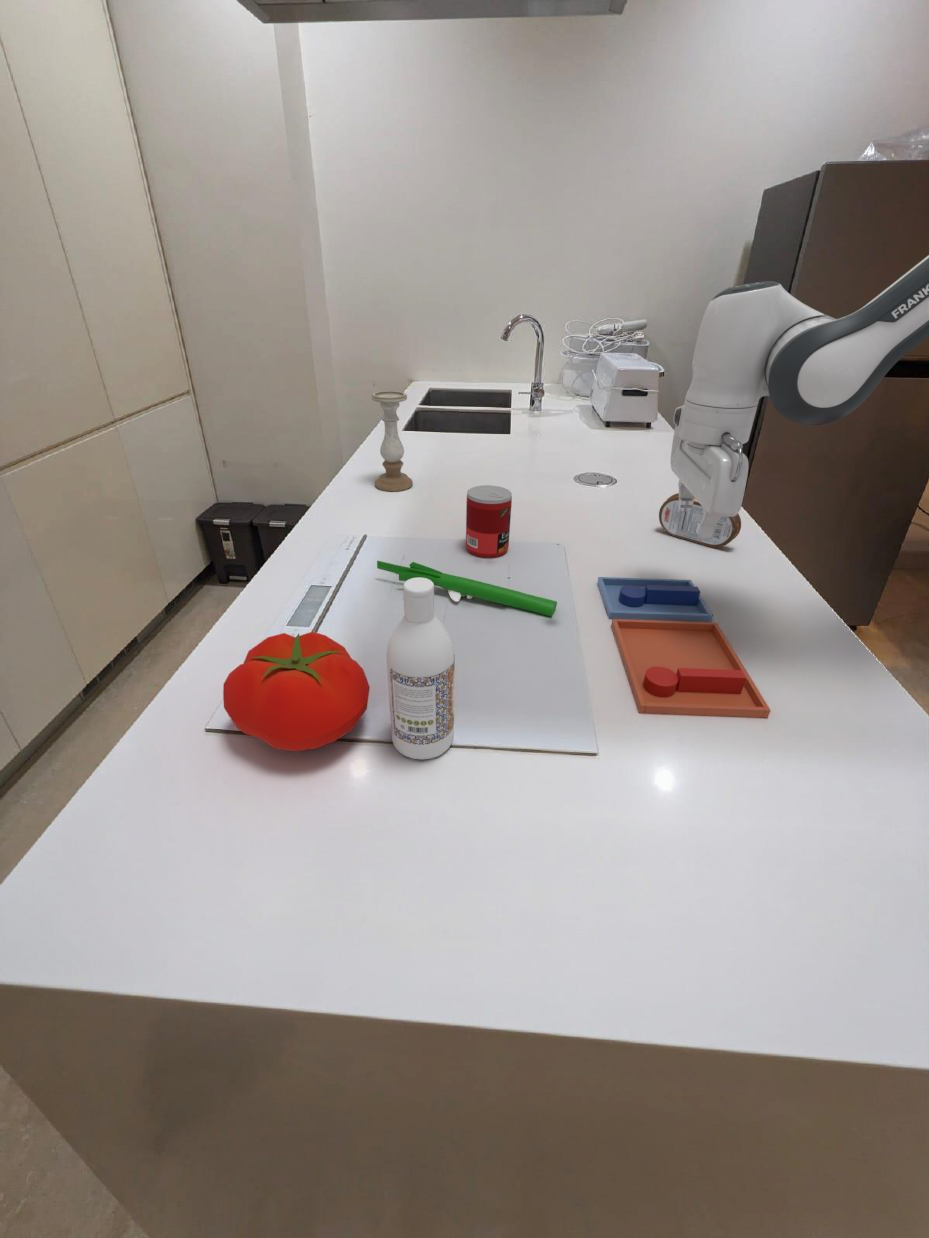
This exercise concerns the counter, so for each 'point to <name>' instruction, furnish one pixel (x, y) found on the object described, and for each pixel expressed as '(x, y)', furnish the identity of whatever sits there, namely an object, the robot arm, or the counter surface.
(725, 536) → the tin
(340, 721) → the tomato
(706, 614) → the slate tray
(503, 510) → the canned food
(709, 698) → the terracotta tray
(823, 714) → the counter surface
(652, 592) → the blue spoon
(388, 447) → the candle holder
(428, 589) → the bath foam
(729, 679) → the red spoon
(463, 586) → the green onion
